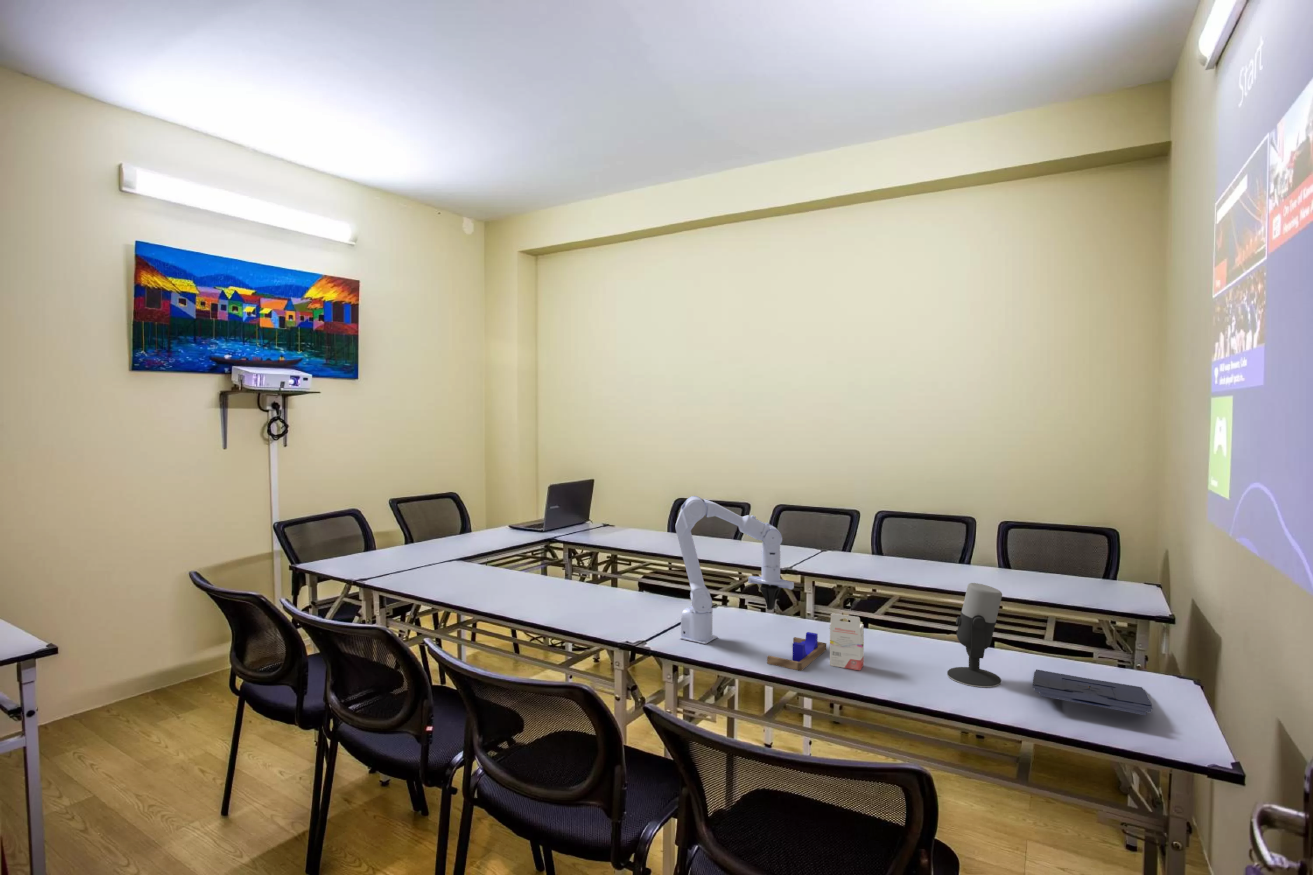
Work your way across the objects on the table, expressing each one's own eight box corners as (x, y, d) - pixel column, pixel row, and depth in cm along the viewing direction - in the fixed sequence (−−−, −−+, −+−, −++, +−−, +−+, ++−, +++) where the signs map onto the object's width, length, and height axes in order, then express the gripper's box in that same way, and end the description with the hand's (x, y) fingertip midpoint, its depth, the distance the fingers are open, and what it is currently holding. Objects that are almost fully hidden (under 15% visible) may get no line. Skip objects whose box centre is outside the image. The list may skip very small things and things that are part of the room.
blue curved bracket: (802, 650, 203) (802, 630, 203) (817, 653, 200) (817, 633, 200) (787, 663, 193) (787, 642, 193) (802, 666, 190) (802, 645, 190)
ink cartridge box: (864, 665, 191) (864, 612, 190) (860, 671, 187) (861, 617, 186) (833, 659, 195) (833, 608, 194) (829, 665, 191) (829, 613, 190)
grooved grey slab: (1030, 705, 162) (1030, 690, 162) (1034, 679, 187) (1034, 665, 188) (1157, 730, 149) (1157, 713, 150) (1143, 698, 175) (1143, 683, 175)
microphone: (1006, 689, 174) (1008, 592, 173) (951, 684, 177) (953, 588, 177) (995, 671, 187) (996, 580, 186) (943, 666, 190) (945, 577, 189)
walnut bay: (767, 663, 192) (767, 656, 192) (794, 643, 209) (794, 636, 209) (801, 670, 187) (801, 663, 187) (826, 649, 203) (826, 643, 203)
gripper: (797, 565, 212) (797, 609, 212) (755, 560, 220) (754, 602, 220) (789, 570, 206) (788, 614, 206) (745, 564, 214) (745, 607, 214)
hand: (770, 608), depth 213 cm, fingers closed
